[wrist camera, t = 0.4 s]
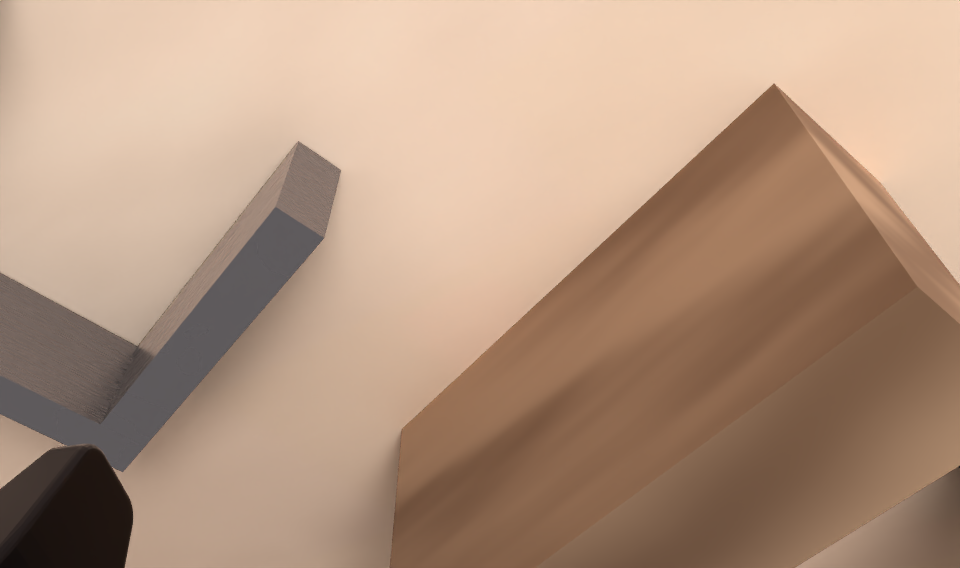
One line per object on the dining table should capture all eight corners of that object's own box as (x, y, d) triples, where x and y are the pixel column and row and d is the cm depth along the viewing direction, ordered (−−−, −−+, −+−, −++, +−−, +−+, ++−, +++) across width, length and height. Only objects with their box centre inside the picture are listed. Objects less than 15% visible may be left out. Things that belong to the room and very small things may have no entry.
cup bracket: (340, 170, 21) (321, 248, 18) (156, 392, 25) (118, 484, 22) (-51, -97, 18) (-148, -50, 15) (-193, 211, 22) (-290, 293, 19)
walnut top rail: (878, 180, 22) (1054, 407, 15) (504, 485, 28) (515, 739, 21) (772, 81, 20) (917, 286, 14) (402, 426, 26) (379, 681, 20)
